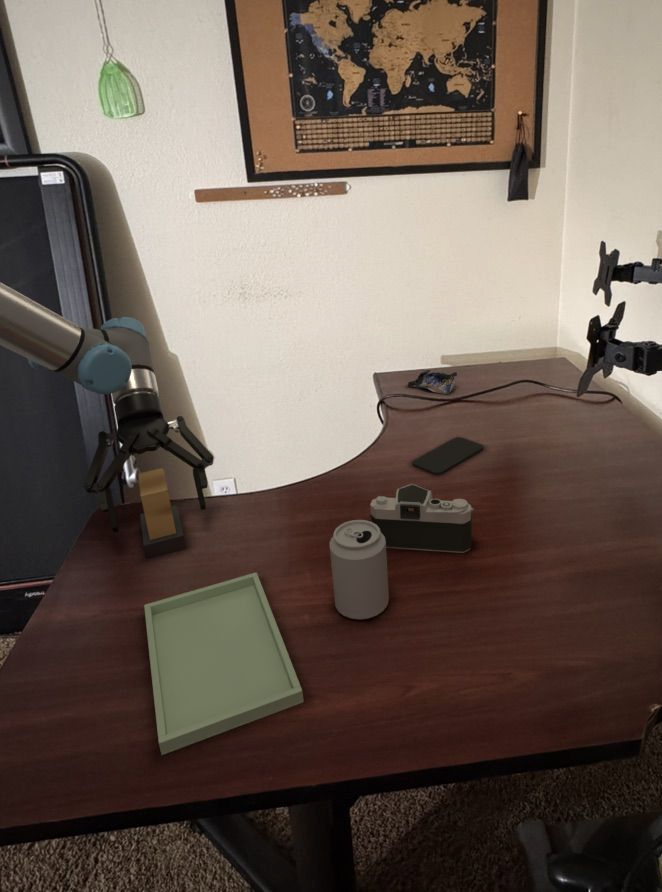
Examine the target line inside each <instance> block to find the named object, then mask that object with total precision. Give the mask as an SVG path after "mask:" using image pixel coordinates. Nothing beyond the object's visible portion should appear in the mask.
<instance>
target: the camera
mask: <svg viewBox="0 0 662 892" xmlns="http://www.w3.org/2000/svg"><path fill="white" fill-rule="evenodd" d="M369 505H370V506H369V507H370V514H369V516H370V522H372V523H374V524H376V525H377V526H378V527H379V528H380V532H381V533H382V534H383V535H384V537H385V541H386V549H398V550H411V551H412V550H414V551H429V552H443V553H444V552H445V553H458V554H459V553H460V554H464V553H466V552H468V551H470V550H471V549H472V512H474V510H475V509H474V507H472V505H471V504H470V503H469V502H468V501H467V500H466V499H464V498H453V500H441V499H439V498H433V491H432V490H431V489H429V488H427V487H426V488H425V487H423V486H421V485H419V484H415V483H409V484H407V485H405V486H401V487H398V488H397V489H396V492H395V497H386V496H385V495H383V496H382V495H378V496H377V497H375V498H374V499H372V500H371V502H370V504H369ZM409 509H413V511H412V510H409Z"/></svg>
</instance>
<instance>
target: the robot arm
mask: <svg viewBox="0 0 662 892" xmlns="http://www.w3.org/2000/svg"><path fill="white" fill-rule="evenodd" d="M147 336H148V335H147V333H146V330H145V327H144V325H143V323H142V322H141V321H140V320H138V319H136V318H133V317H129V316H122V317H120V318H117V317H114V318H111V319H109V320H107V321H105V322H104V323H103V324H102V325H101V327H100V328H89V327H81V326H79V325H78V324H77V323H74V322H72V321H71V320H69V319H68V318H65V317H64V316H61V315H60V314H58V313H56V312H54V311H53V310H51V309H49V308H48V307H45V306H44V305H43V304H40V303H38V302H37V301H35V300H33V299H31V298H30V297H28V296H26V295H24V294H22V293H21V292H19V291H17V290H15V289H13V288H12V287H10V286H8V285H6V284H4V283H2V282H1V281H0V346H1V347H3V348H5V349H8V350H9V351H12V352H13V353H16V354H18V355H20V356H22V357H24V358H26V359H27V362H28V364H29V366H30V367H31V368H32V369H33V370H40V371H47V372H54V373H56V374H58V375H60V376H62V377H64V378H66V379H68V380H70V381H72V382H75V383H77V384H78V385H80V386H81V387H82V388H84V389H85V390H87V391H89V392H92V393H96V394H98V395H110V394H111V398H112V403H113V404H114V406H113V408H114V414H115V419H116V425H117V428H116V431H115V432H106V431H103V430H102V431H99V432H98V435H97V436H98V437H97V438H98V439H97V440H98V444H97V447H96V450H95V453H94V456H93V459H92V461H91V463H90V466H89V469H88V472H87V474H86V477H85V479H84V482H83V488H84V490H85V492H86V493H87V494H92V493H93V494H94V493H95V494H97V497H98V504H99V509H100V511H101V512H102V513H103V514H104V513H107V512H108V517H109V522H110V529H111V530H112V533H117V532H119V525H118V520H117V514H116V507H115V502H114V497H113V491H112V490H111V488H110V487H111V485H112V484H113V482H114V481H115V479H116V478H117V476H118V475H119V473H120V472H121V470H122V468H123V467H124V465H125V464H126V463H127V461H128V460H129V459H130V458H131V456H132V454H137V455H141V454H144V453H147V452H156V451H157V450H158V449H160V448H162V449H163V450H164V451H166V452H169V453H170V454H172V455H173V456H175V457H176V458H178V459H179V460H181V462H183V463H185V464H186V465H188V466H190V467H191V468H192V476H193V480H194V485H195V490H196V494H197V499H198V503H199V508H200V511H205V510H207V506H206V505H207V504H206V500H205V499H206V498H205V495H204V491H203V489H208V486H209V481H208V477H207V473H206V469H207V468H208V467H211V466H212V465H213V464H214V460H215V459H214V455H213V454H212V453H211V452H210V450H209V449H208V448H207V447H206V445H204V444H203V443H202V442H201V440H200V439H199V438H198V437H197V436H196V435H195V434H194V433H193V431H192V430H190V429H189V427H188V426H187V424H186V420H185V418H184V416H183V415H178V416H177V417H176V419H174V420H170V421H167V420H166V419H165V416H164V411H163V407H162V402H161V398H160V397H159V396H160V392H159V388H158V383H157V377H156V375H155V371H154V364H153V361H152V354H151V350H150V342H149V339H148V337H147ZM170 430H173V431H174V432H175V433H179V434H180V436H181V437H182V439H183V440H184V441H185V442H186V443H187V444H188V445H189V446H190V447H191V449H192V450H193V451H194V452H195V453H196V454H197V456H198V457H197V456H196V455H195V454H192V453H191V452H190V451H189V450H187V449H186V448H184V447H182V446H181V445H180V444H178V443H177V442H176V441H174V440H172V438H170V437H169V436H168V433H169V432H170ZM115 441H118V442H119V443H120V444H121V446H120V447H119V450H118V452H117V454H116V455H115V457H114V458H113V460H112V461H111V463H110V464H109V465H108V467H107V469H106V470H105V472H104V473H103V475H102V476H101V478H100V474H101V472H102V469H103V466H104V464H105V461H106V458H107V455H108V453H109V448H110V447H112V446H113V445H114V442H115ZM199 457H200V458H199ZM99 478H100V479H99ZM98 479H99V480H98Z"/></svg>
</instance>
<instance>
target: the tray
mask: <svg viewBox="0 0 662 892" xmlns="http://www.w3.org/2000/svg"><path fill="white" fill-rule="evenodd" d="M143 609H144V617H145V627H146V637H147V645H148V656H149V666H150V673H151V684H152V694H153V702H154V703H153V704H154V712H155V722H156V731H157V741H158V747H159V751H160V755H161V756H164V755H167V754H169V753H171V752H174V751H177V750H180V749H182V748H185V747H188V746H190V745H193V744H195V743H198V742H201V741H203V740H206V739H209V738H212V737H214V736H217V735H221V734H222V733H226V732H227V731H228V732H229V731H230V730H233V729H236V728H238V727H241V726H244V725H246V724H249V723H252V722H254V721H258V720H261V719H262V718H265V717H268V716H271V715H273V714H276V713H278V712H281V711H284V710H286V709H289V708H292V707H294V706H297V705H300V704H302V703H304V701H305V700H304V692H303V689H302V686H301V684H300V681H299V678H298V676H297V673H296V670H295V668H294V665H293V663H292V660H291V658H290V654H289V652H288V650H287V647H286V644H285V642H284V639H283V637H282V634H281V631H280V629H279V626H278V624H277V622H276V619H275V616H274V614H273V611H272V608H271V606H270V603H269V600H268V598H267V595H266V593H265V590H264V588H263V585H262V582H261V580H260V577H259V574H258V572H253V573H249V574H245V575H242V576H239V577H236V578H232V579H228V580H225V581H222V582H219V583H218V582H217V583H215V584H211V585H208V586H204V587H201V588H197V589H193V590H190V591H188V592H187V591H186V592H183V593H180V594H177V595H173V596H170V597H166V598H163V599H159V600H156V601H153V602H150V603H145V604H144V605H143Z"/></svg>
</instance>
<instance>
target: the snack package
mask: <svg viewBox="0 0 662 892" xmlns="http://www.w3.org/2000/svg"><path fill="white" fill-rule="evenodd" d="M457 375H458V373H457V372H455V371H454V372H453V373H451V374H447V373H444V370H442V371H441V372H439V371H438V372H431V370H430V369H427V370H424V371H422V372H420V373H419V375H418V377H417V378H416V379H415V380H413V381H408V383H407V387H409V388H417V389H427V390H429V391H431V392H434V393H437V394H438V392H437V391H436V390H434V389H432V388H430V386H432V387H435V388H438V389H440V390H441V391H442V393H443V394H445V395H450V393H451V391H452V390H453V388H454V386H455V382H456V379H457ZM442 393H439V394H440V395H441V394H442Z"/></svg>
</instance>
